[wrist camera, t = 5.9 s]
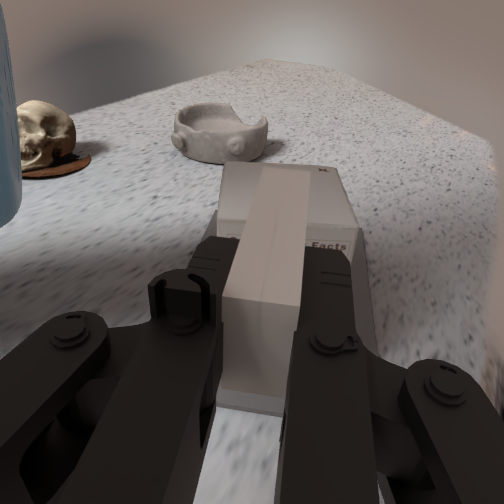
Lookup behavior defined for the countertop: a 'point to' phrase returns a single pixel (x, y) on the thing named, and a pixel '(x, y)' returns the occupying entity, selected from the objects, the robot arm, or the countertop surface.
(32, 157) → the skull
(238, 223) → the supplement box
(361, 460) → the robot arm
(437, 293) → the countertop surface
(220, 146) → the dish
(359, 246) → the mat
